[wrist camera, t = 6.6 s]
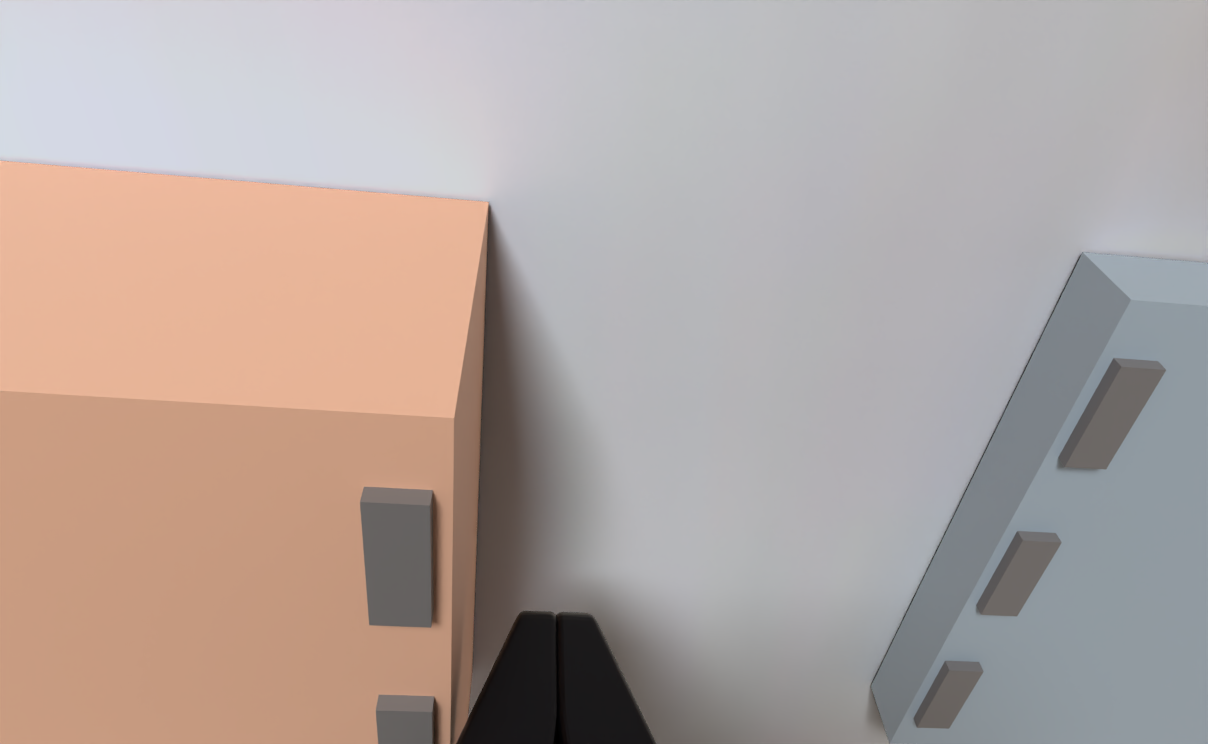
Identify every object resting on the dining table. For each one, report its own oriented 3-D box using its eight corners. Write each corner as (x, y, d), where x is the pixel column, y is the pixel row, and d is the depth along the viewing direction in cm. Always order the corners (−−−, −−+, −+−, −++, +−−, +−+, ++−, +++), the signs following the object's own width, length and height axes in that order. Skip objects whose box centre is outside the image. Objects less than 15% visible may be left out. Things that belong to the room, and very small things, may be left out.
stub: (488, 201, 9) (452, 432, 6) (472, 673, 13) (446, 935, 11) (-143, 148, 8) (-536, 375, 5) (68, 660, 13) (-79, 933, 10)
